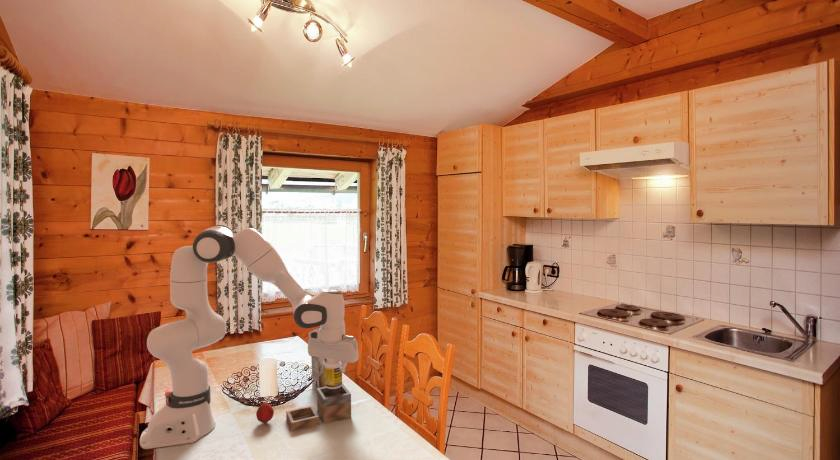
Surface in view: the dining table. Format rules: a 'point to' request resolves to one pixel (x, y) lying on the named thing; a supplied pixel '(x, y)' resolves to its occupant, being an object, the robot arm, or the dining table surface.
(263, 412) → the onion
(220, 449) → the dining table surface
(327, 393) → the stepped holder
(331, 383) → the pill bottle
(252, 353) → the dining table surface
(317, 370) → the coffee box
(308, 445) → the dining table surface
